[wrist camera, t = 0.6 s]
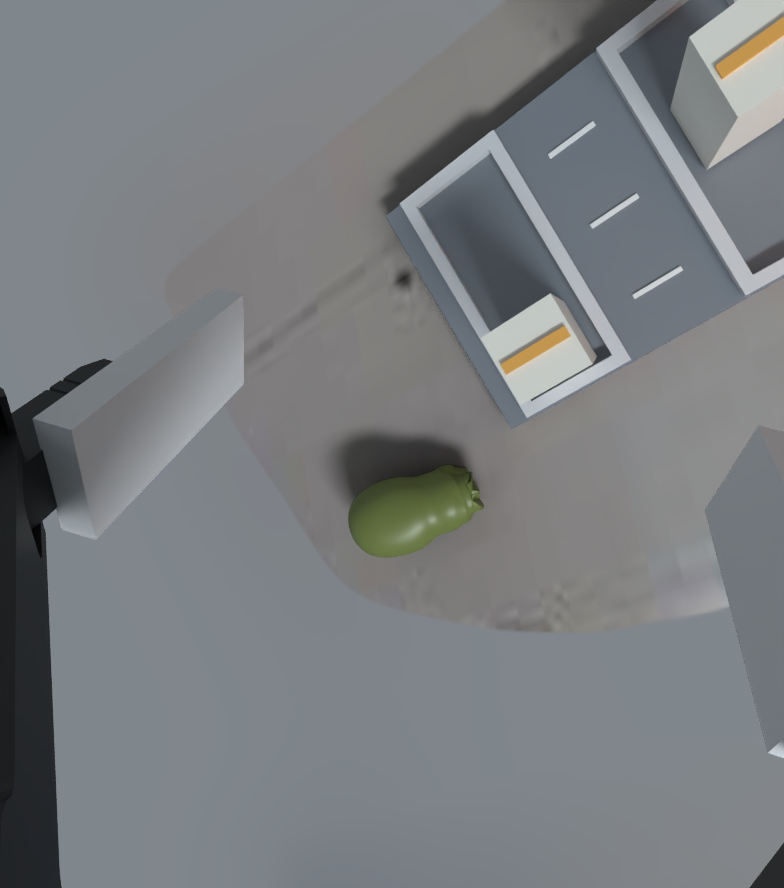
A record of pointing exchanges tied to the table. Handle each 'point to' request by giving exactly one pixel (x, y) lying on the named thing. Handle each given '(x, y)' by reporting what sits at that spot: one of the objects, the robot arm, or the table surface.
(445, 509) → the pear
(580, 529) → the table surface
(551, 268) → the tray
